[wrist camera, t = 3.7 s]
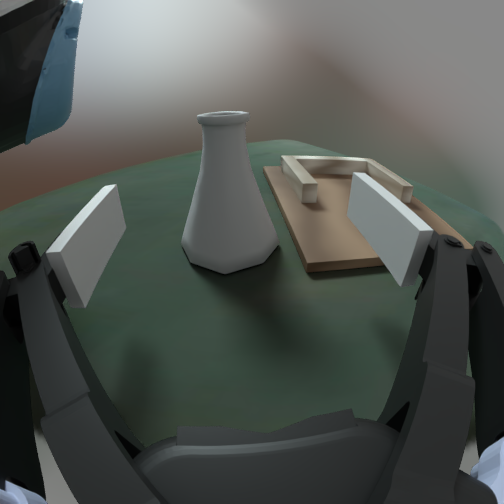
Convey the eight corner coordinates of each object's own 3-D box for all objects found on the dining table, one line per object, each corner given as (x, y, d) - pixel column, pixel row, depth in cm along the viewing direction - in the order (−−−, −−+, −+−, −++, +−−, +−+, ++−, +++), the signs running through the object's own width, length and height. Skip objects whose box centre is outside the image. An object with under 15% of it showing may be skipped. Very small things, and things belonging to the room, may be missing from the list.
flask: (296, 246, 21) (304, 113, 16) (223, 290, 17) (210, 123, 12) (234, 216, 26) (230, 107, 20) (166, 246, 22) (147, 120, 16)
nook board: (306, 272, 19) (310, 236, 17) (263, 172, 37) (263, 152, 35) (471, 255, 20) (481, 229, 18) (374, 173, 38) (376, 156, 36)
